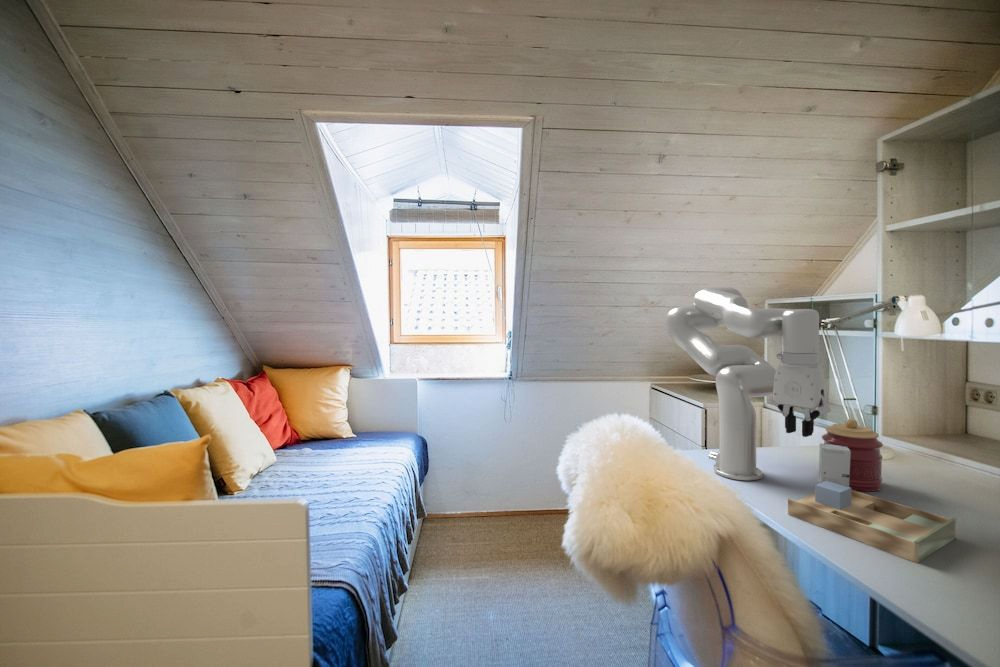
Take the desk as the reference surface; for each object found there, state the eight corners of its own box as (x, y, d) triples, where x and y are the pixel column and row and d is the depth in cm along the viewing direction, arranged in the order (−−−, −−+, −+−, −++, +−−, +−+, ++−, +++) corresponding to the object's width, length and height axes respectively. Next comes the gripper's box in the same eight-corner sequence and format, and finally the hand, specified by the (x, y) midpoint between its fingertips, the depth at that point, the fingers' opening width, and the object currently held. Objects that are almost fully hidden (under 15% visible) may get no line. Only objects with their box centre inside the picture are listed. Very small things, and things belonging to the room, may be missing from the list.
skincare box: (820, 493, 113) (820, 447, 112) (817, 487, 117) (818, 442, 116) (850, 498, 110) (851, 450, 109) (846, 491, 114) (847, 445, 113)
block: (815, 501, 103) (815, 484, 103) (826, 497, 105) (826, 480, 105) (839, 509, 98) (839, 492, 98) (850, 504, 101) (851, 487, 100)
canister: (844, 471, 127) (845, 411, 127) (894, 489, 115) (896, 422, 114) (809, 477, 124) (810, 415, 123) (857, 495, 112) (858, 426, 111)
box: (787, 514, 102) (788, 497, 102) (828, 497, 110) (829, 482, 110) (917, 563, 82) (917, 542, 82) (955, 538, 90) (955, 519, 90)
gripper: (757, 358, 112) (756, 428, 113) (829, 364, 98) (828, 445, 99) (774, 356, 116) (773, 424, 117) (846, 361, 101) (845, 439, 102)
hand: (798, 433), depth 108 cm, fingers open, 3 cm apart
